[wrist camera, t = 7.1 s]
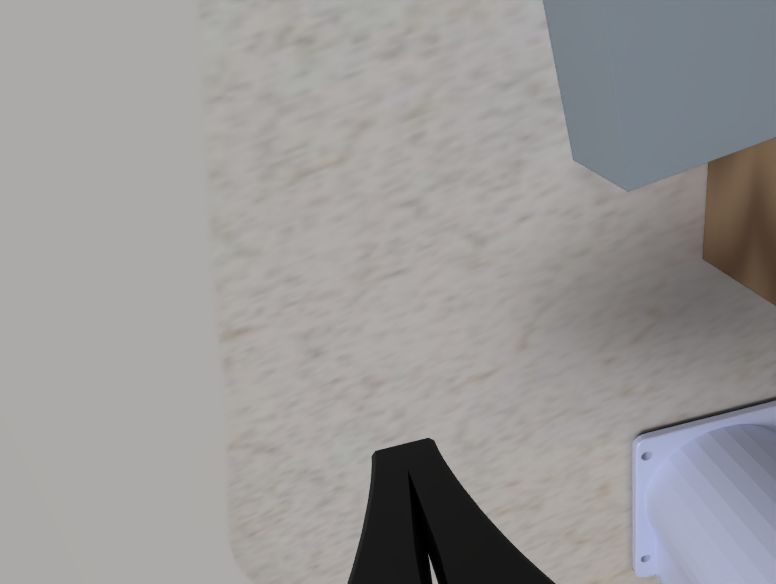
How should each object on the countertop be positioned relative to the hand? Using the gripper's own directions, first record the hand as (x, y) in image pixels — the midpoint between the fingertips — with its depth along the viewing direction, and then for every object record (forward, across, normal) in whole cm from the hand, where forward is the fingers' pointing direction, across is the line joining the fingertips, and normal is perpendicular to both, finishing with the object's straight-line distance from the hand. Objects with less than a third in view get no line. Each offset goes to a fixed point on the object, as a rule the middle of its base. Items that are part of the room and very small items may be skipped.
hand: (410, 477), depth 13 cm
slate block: (+10, -10, -6) cm, 15 cm away
